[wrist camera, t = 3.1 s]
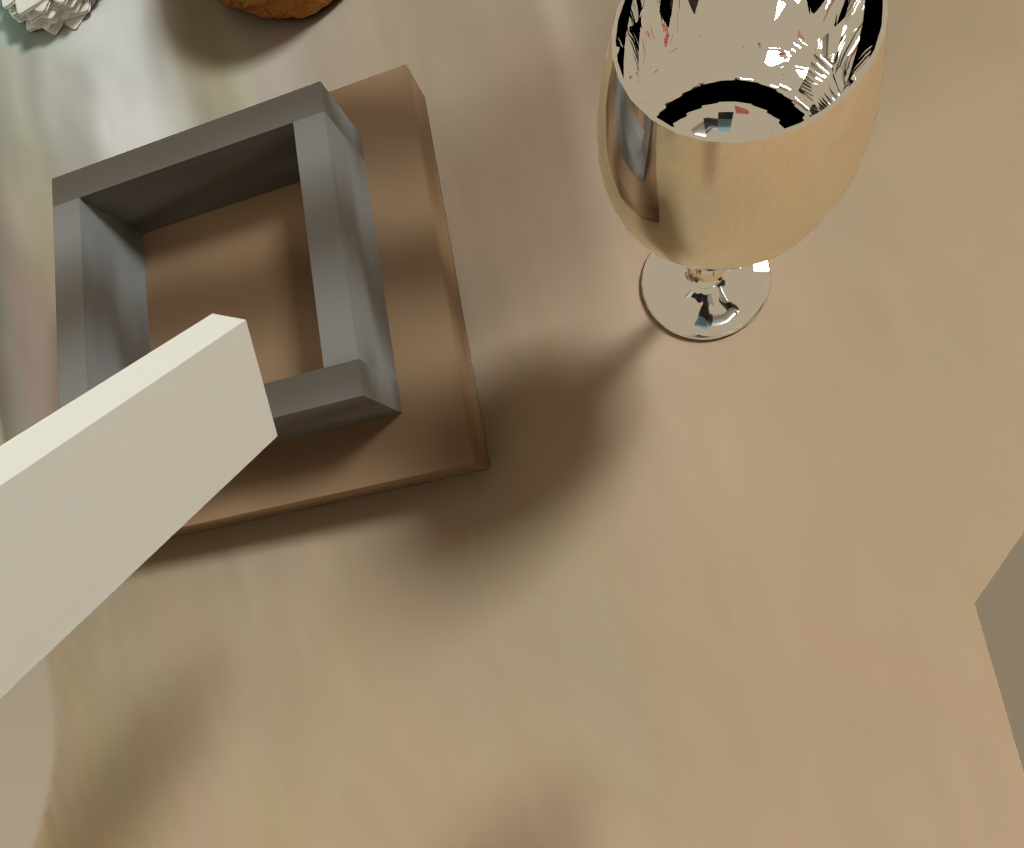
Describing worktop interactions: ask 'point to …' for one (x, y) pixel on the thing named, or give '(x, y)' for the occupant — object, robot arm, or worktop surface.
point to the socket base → (286, 286)
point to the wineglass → (732, 140)
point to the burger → (278, 7)
